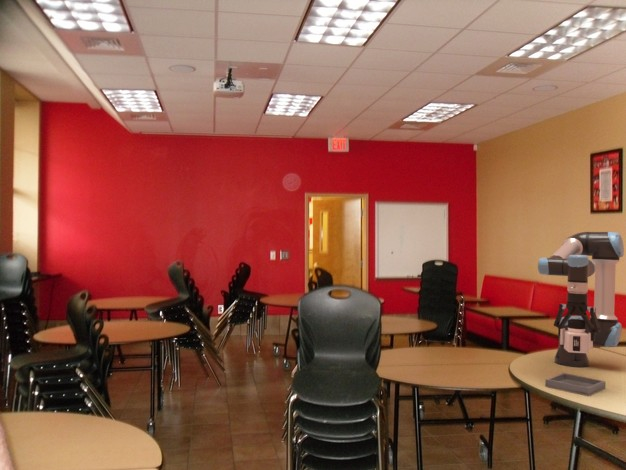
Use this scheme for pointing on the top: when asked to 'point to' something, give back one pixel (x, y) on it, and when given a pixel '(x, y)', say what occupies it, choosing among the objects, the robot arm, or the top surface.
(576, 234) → the robot arm
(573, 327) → the container
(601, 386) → the tray
